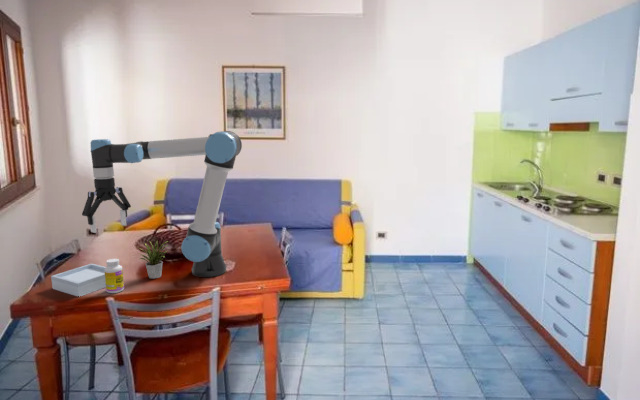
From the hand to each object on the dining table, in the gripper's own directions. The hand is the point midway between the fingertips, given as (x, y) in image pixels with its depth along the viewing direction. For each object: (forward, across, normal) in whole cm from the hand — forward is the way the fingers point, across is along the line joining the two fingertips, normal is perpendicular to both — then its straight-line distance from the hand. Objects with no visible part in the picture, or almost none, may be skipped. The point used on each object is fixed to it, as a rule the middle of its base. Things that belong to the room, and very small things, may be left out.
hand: (109, 228), depth 188 cm
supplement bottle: (+24, +5, +8) cm, 26 cm away
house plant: (+24, -15, +9) cm, 30 cm away
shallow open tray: (+24, +8, -8) cm, 26 cm away
